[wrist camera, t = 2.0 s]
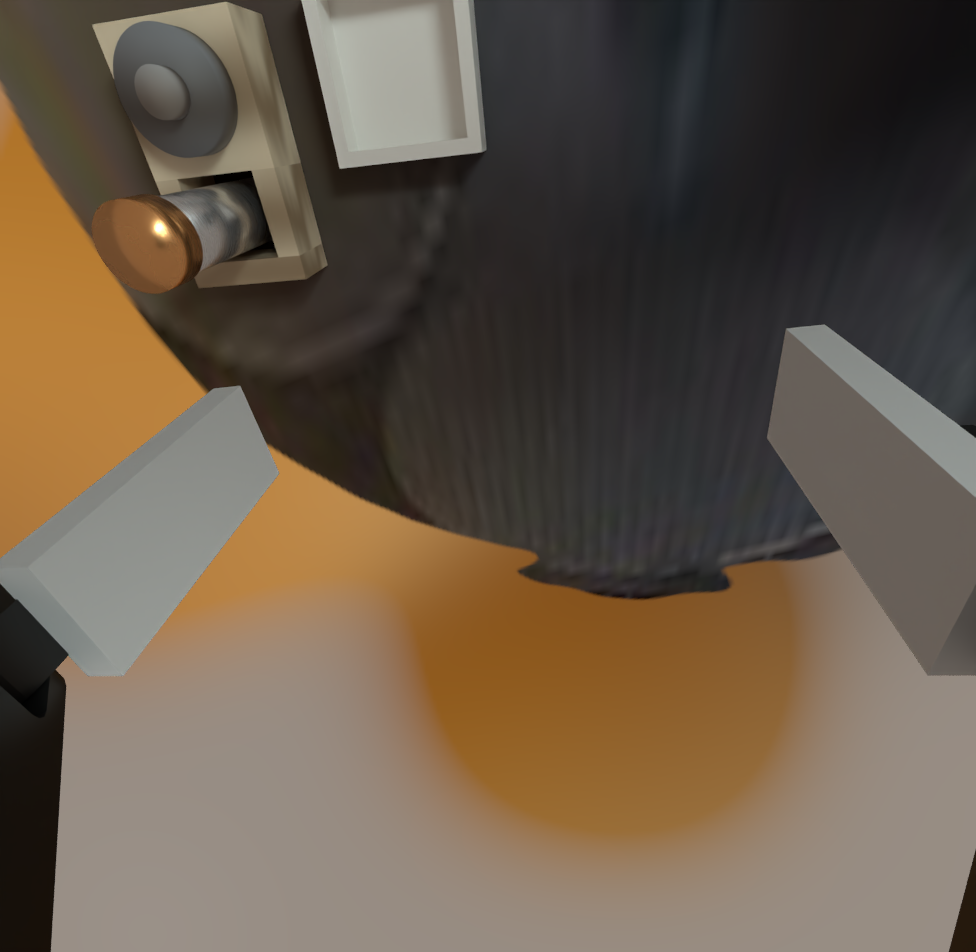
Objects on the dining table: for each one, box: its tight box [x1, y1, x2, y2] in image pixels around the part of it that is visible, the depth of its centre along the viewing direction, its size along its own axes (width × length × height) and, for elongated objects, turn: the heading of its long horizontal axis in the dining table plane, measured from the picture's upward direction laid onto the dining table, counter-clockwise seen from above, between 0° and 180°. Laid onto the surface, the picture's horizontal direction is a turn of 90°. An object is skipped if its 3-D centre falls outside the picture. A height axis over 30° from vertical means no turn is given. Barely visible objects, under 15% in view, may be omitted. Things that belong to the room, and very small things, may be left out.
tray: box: [301, 0, 487, 169], centre depth 30 cm, size 9×9×2 cm
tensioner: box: [92, 2, 327, 288], centre depth 32 cm, size 14×8×7 cm, turn 6°
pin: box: [92, 178, 273, 294], centre depth 31 cm, size 4×4×13 cm
